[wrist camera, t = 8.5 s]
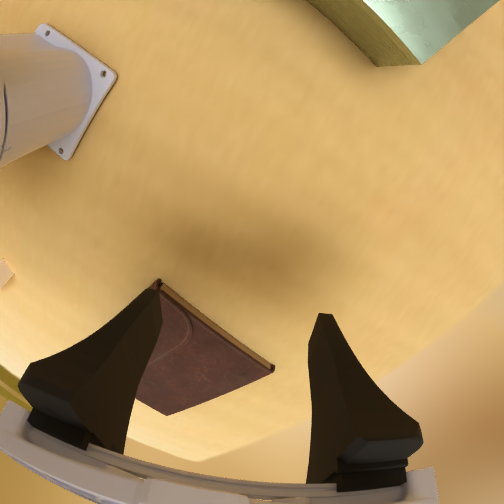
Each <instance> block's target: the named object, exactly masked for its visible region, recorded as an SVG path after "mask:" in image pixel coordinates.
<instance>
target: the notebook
mask: <svg viewBox="0 0 504 504" xmlns="http://www.w3.org/2000/svg"><path fill="white" fill-rule="evenodd" d="M161 281H162V280H161V279H160V278H159V279H158V280H157V281H156V282H155V283H154V284H153V285H151V286H150V287H149V288H148V289H154V290H159V293H160V302H161V311H162V319H163V323H162V327H161V330H160V334H159V337H158V340H157V343H156V345H155V348H154V350H153V352H152V355H151V357H150V359H149V361H148V364H147V366H146V368H145V371H144V373H143V375H142V378H141V380H140V383H139V386H138V389H137V393H136V396H135V398H136V399H137V400H139V401H141V402H142V403H144V404H146V405H148V406H149V407H151V408H153V409H155V410H156V411H158V412H160V413H162V414H164V415H166V416H168V415H171V414H174V413H177V412H180V411H182V410H185V409H188V408H191V407H193V406H196V405H198V404H201V403H204V402H206V401H209V400H211V399H214V398H216V397H219V396H221V395H224V394H226V393H228V392H231V391H233V390H236V389H238V388H240V387H242V386H245V385H247V384H249V383H252V382H254V381H256V380H258V379H260V378H263V377H265V376H267V375H269V374H271V373H273V372H274V371H275V365H272V364H271V363H269V362H268V361H266V360H265V359H264V358H262V357H261V356H259V355H258V354H256V353H255V352H254V351H252V350H251V349H249V348H248V347H247V346H245V345H244V344H242V343H241V342H240V341H238V340H237V339H236V338H234V337H233V336H231V335H230V334H229V333H227V332H226V331H225V330H223V329H222V328H221V327H219V326H218V325H217V324H215V323H214V322H213V321H211V320H210V319H209V318H207V317H206V316H205V315H204V314H202V313H201V312H200V311H198V310H197V309H196V308H195V307H193V306H192V305H191V304H189V303H188V302H187V301H186V300H184V299H183V298H182V297H181V296H179V295H178V294H177V293H176V292H174V291H173V290H172V289H171V288H169V287H168V286H167V285H166V284H164V283H162V284H161V285H160V286H159V287H158V285H159V283H160V282H161Z"/></svg>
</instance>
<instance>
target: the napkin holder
mask: <svg viewBox="0 0 504 504" xmlns="http://www.w3.org/2000/svg"><path fill="white" fill-rule="evenodd" d="M13 275H14V272H13V271H12V270H11V268H10V267H9V265H8V264H7V262H6V261H5V260H4V258H3V259H2V260H1V261H0V289H1V288H2V287H3V286H4V285H5V284H6V282H7V281H8V280H9V279H10V278H11V277H12V276H13Z"/></svg>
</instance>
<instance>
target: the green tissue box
mask: <svg viewBox="0 0 504 504" xmlns="http://www.w3.org/2000/svg"><path fill="white" fill-rule="evenodd" d="M307 1H308V2H309V3H311V4H312V5H313V6H314V7H316V8H317V9H318V10H319V11H320V12H321V13H323V14H324V15H325V16H326V17H327V18H328V19H329V20H330V21H332V22H333V23H334V24H335V25H336V26H337V27H338V28H339V29H340V30H341V31H342V32H343V33H344V34H346V35H347V36H348V37H349V38H350V39H351V40H352V41H353V42H354V43H355V44H356V45H357V46H358V47H359V48H360V49H361V50H362V51H363V53H364V54H365V55H366V56H367V57H368V58H369V59H370V60H371V61H372V62H373V63H374V64H375V65H376V66H377V67H379V66H396V65H422V64H423V63H424V62H425V61H427V60H428V59H429V58H430V57H431V56H433V55H434V54H435V53H436V52H437V51H438V50H440V49H441V48H442V47H443V46H444V45H446V44H447V43H448V42H449V41H450V40H451V39H453V38H454V37H455V36H456V35H457V34H459V33H460V32H461V31H462V30H464V29H465V28H466V27H467V26H468V25H470V24H471V23H472V22H473V21H474V20H476V19H477V18H478V17H479V16H481V15H482V14H483V13H484V12H486V11H487V10H488V9H489V8H491V7H492V6H493V5H494V4H496V3H497V2H498V1H499V0H307Z"/></svg>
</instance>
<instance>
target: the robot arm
mask: <svg viewBox="0 0 504 504" xmlns="http://www.w3.org/2000/svg"><path fill="white" fill-rule="evenodd" d="M49 31H50V34H49V36H48V33H49ZM104 71H106V73H107V74H106V76H105V77H104V76H103V73H104ZM116 78H117V75H116V73H115V72H114V71H113V70H112V69H110V68H109V67H108V66H106V65H105V64H104V63H102V62H101V61H100V60H98V59H97V58H96V57H94V56H93V55H91V54H90V53H89V52H87V51H86V50H84V49H83V48H82V47H80V46H79V45H77V44H76V43H75V42H73V41H72V40H70V39H69V38H67V37H66V36H64V35H63V34H62V33H60V32H59V31H57V30H56V29H54V28H53V27H51V26H50V25H48V24H47V23H41V24H40V25H39V26H38V28H37V30H36V32H35V33H19V34H0V168H2V167H4V166H6V165H7V164H9V163H11V162H13V161H15V160H17V159H19V158H21V157H23V156H25V155H27V154H29V153H31V152H33V151H35V150H37V149H39V148H41V147H43V146H46V145H47V146H49V147H50V148H51V149H52V150H53V151H54V152H55V153H56V154H58V155H59V156H60V157H61V158H62V159H63V160H68V159H70V158H71V157H72V155H73V153H74V151H75V149H76V147H77V145H78V143H79V141H80V139H81V138H82V136H83V134H84V132H85V130H86V128H87V127H88V125H89V123H90V121H91V120H92V118H93V116H94V114H95V113H96V111H97V109H98V108H99V106H100V104H101V103H102V101H103V99H104V98H105V96H106V95H107V93H108V91H109V90H110V88H111V87H112V85H113V84H114V82H115V81H116ZM61 149H63V152H62V150H61ZM162 323H163V319H162V311H161V302H160V293H159V290H154V289H148V288H147V289H145V290H144V291H143V292H142V293H141V294H140V295H139V296H138V297H137V298H135V299H134V300H133V301H132V302H131V303H130V304H129V305H128V306H127V307H126V308H124V309H123V310H122V311H121V312H120V313H119V314H118V315H116V316H115V317H114V318H113V319H112V320H110V321H109V322H108V323H107V324H105V325H104V326H103V327H101V328H100V329H99V330H97V331H96V332H95V333H93V334H92V335H90V336H89V337H87V338H85V339H84V340H82V341H80V342H78V343H77V344H75V345H73V346H71V347H70V348H68V349H66V350H63V351H61V352H59V353H57V354H55V355H52V356H50V357H47V358H44V359H41V360H38V361H36V362H32V363H30V365H29V366H28V368H27V369H26V371H25V373H24V374H23V376H22V378H21V379H20V381H19V383H18V388H19V390H20V392H21V393H22V395H23V396H24V397H25V399H26V400H27V401H28V402H29V403H30V405H31V406H32V407H33V409H32V411H31V413H30V412H29V411H28V410H27V409H25V408H23V407H21V406H20V405H18V404H16V403H14V402H12V401H11V400H8V402H7V403H6V405H5V407H4V409H3V411H2V413H1V415H0V450H1V451H3V452H4V453H5V454H7V455H8V456H9V457H11V458H12V459H13V460H14V461H16V462H17V463H19V464H21V465H22V466H24V467H26V468H27V469H29V470H31V471H33V472H34V473H36V474H38V475H40V476H41V477H43V478H45V479H47V480H49V481H50V482H52V483H54V484H56V485H58V486H60V487H62V488H64V489H66V490H68V491H70V492H72V493H75V494H77V495H79V496H81V497H83V498H85V499H88V500H90V501H92V502H95V503H97V504H439V497H438V490H437V483H436V478H435V472H434V467H432V466H431V467H426V468H422V469H416V470H411V471H409V472H406V470H405V467H406V466H408V459H407V458H408V457H409V456H411V455H412V454H413V453H415V452H416V451H417V450H418V449H419V448H420V447H421V446H422V444H423V438H422V432H421V429H420V426H419V423H418V422H417V421H415V420H414V419H413V418H411V417H410V416H409V415H407V414H406V413H405V412H403V411H402V410H401V409H400V408H399V407H398V406H397V405H396V404H394V403H393V402H392V401H391V400H390V399H389V398H388V397H387V396H386V395H385V394H384V393H383V392H382V391H381V390H380V388H379V387H378V386H377V385H376V384H375V383H374V381H373V380H372V379H371V378H370V376H369V375H368V374H367V372H366V371H365V370H364V368H363V367H362V365H361V364H360V362H359V361H358V359H357V358H356V356H355V355H354V353H353V351H352V350H351V348H350V346H349V345H348V343H347V341H346V339H345V338H344V336H343V334H342V332H341V330H340V328H339V326H338V324H337V322H336V320H335V318H334V316H333V315H332V314H324V313H319V314H318V317H317V320H316V323H315V326H314V329H313V332H312V335H311V337H310V340H309V343H308V369H309V379H310V390H311V401H312V427H311V443H310V455H309V465H308V472H307V479H306V484H290V483H269V482H256V481H246V480H237V479H229V478H222V477H215V476H209V475H203V474H198V473H192V472H187V471H182V470H178V469H173V468H169V467H165V466H160V465H157V464H153V463H149V462H145V461H142V460H138V459H135V458H131V457H128V456H125V455H123V454H124V447H125V441H126V435H127V430H128V425H129V420H130V416H131V412H132V408H133V404H134V400H135V396H136V393H137V389H138V386H139V383H140V380H141V378H142V375H143V373H144V371H145V368H146V366H147V364H148V361H149V359H150V357H151V355H152V352H153V350H154V348H155V345H156V343H157V340H158V337H159V334H160V330H161V327H162ZM138 477H140V478H143V479H140V478H138ZM144 479H145V480H144ZM249 498H251V499H249ZM256 499H263V500H272V501H263V500H256Z"/></svg>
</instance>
